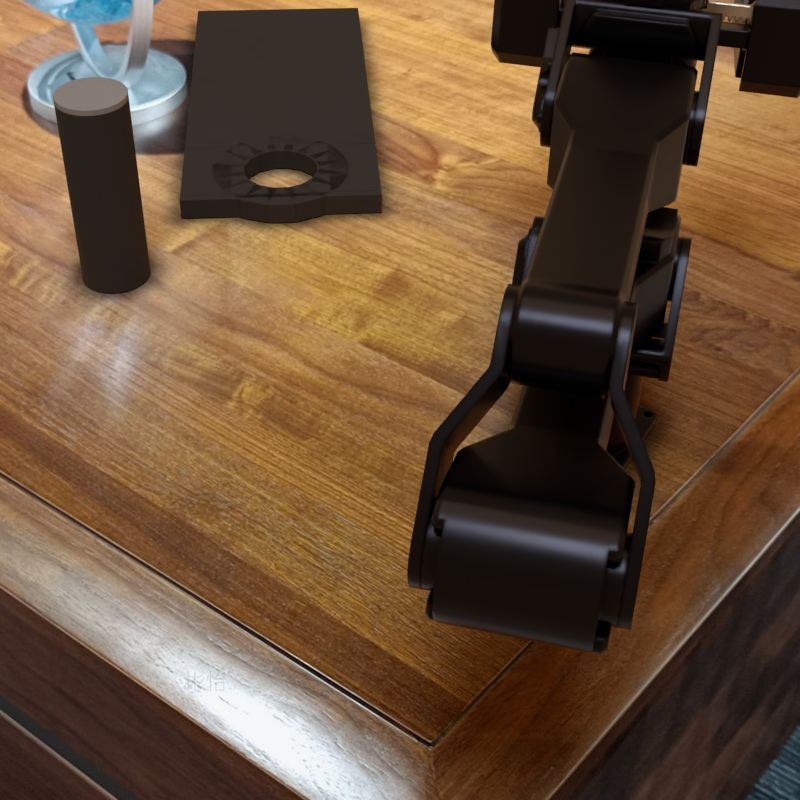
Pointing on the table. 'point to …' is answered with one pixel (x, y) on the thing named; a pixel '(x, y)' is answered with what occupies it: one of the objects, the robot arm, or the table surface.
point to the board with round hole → (279, 116)
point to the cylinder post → (103, 182)
